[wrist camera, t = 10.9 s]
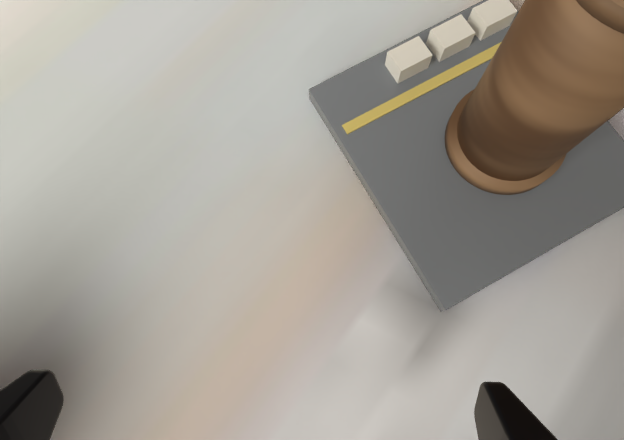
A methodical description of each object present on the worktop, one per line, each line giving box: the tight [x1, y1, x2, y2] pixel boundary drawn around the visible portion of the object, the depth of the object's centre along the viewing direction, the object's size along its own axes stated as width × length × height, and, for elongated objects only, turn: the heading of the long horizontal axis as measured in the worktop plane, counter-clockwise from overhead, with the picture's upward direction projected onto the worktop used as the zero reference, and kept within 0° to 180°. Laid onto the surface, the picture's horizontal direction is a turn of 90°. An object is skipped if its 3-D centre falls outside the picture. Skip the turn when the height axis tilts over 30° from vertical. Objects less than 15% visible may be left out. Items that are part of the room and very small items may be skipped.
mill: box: [445, 0, 624, 195], centre depth 18 cm, size 6×6×12 cm
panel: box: [309, 0, 624, 311], centre depth 25 cm, size 14×13×1 cm
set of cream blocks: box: [385, 0, 518, 83], centre depth 25 cm, size 1×8×1 cm, turn 118°
